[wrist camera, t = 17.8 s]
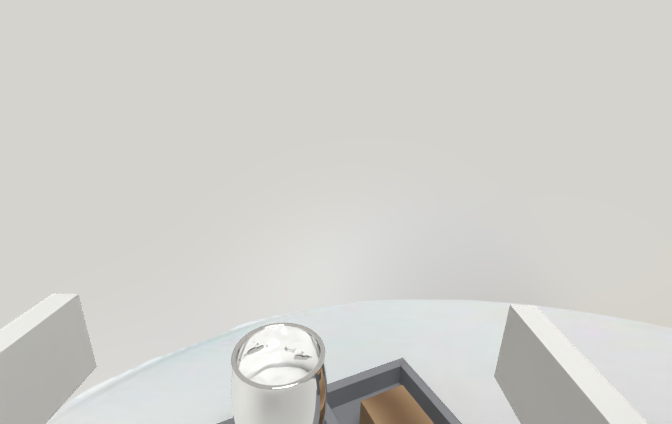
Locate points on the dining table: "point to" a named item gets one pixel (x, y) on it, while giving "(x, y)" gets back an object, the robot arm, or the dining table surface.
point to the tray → (372, 382)
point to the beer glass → (279, 376)
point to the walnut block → (392, 409)
